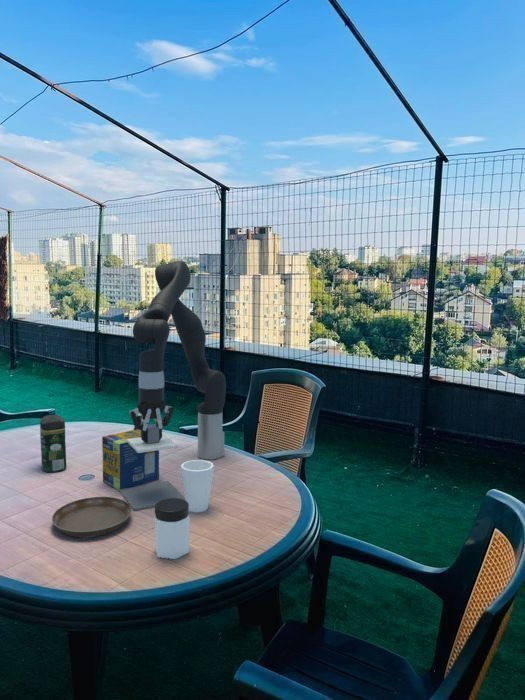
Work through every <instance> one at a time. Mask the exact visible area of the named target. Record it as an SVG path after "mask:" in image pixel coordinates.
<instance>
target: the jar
mask: <svg viewBox="0 0 525 700" xmlns="http://www.w3.org/2000/svg"><path fill="white" fill-rule="evenodd" d="M189 513H190V511H189V504H188V502H187V501H185V500H183V499H179V498H168V499H164V500H161V501H159V502H158V503H156V505H155V507H154V550H155V554H156V556H157V557H156V558H160V557H161V558H162V559H168V558H169V560H176V559H179V558H181V557H183V556H185V555H186V554H189V553H190V540H191V539H190V533H191V532H190V522H191V521H190V514H189ZM161 558H160V559H161Z"/></svg>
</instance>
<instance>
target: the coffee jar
mask: <svg viewBox="0 0 525 700" xmlns="http://www.w3.org/2000/svg"><path fill="white" fill-rule="evenodd" d="M39 423H40V424H39V427H40V429H39V431H40V432H39V436H40V452H41V453H40V454H41V468H42V470H43V471H44V472H46V473H58V472H61V471H64V470H65V469H66V468H67V454H66V453H67V452H66V451H67V445H66V421H65V419H64V418H63V417H62V416H60V415H58V414H49V415H44V416H43V417H42V418H41V419H40V421H39Z"/></svg>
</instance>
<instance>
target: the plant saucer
mask: <svg viewBox="0 0 525 700" xmlns="http://www.w3.org/2000/svg"><path fill="white" fill-rule="evenodd" d="M132 510H133V509H132V508H131V506H130V505H129V504H128V502H127V501H126V500H124V499H120V498H117V497H111V496H95V497H94V496H93V497H85V498H81V499H78V500H74V501H71V502H68V503H66V504H64V505H63V506H61V507H59V508H58V509H57V510H55V511H54V513H53V514H52V517H51V521H52V523H53V525H54V526H55V528H56V529H57V530H59V531H60V532H62V533H63V534H64V535H66V536H70V537H74V538H94V537H101V536H104V535H107V534H109V533H111V532H114V531H115V530H117V529H119V528H120V527H122V526H123V524H124V523H125V522H126V521H127V520H128V519H129V518H130V516H131V513H132Z"/></svg>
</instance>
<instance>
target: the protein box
mask: <svg viewBox="0 0 525 700" xmlns="http://www.w3.org/2000/svg"><path fill="white" fill-rule="evenodd" d="M139 437H141V430H140V429H139V430H138V429H135V430H133V429H131V430H126V431H122V432H117V433H114V434H108V435H104V436H102V437H101V439H102V440H101V441H102V451H101V452H102V482H103V483H104V484H106V485H108V486H110V487H111V488H114V489H116V490H117V491H119V492H120V490H119V489H125V488H131V487H136V486H142V485H145V484H146V483H151V482H153V480H154V481H156V479H157V480H159V479H160V450H156V451H149V452H142V453H137V452H136V451H135V449H134V448H133V447H132V446H131V445H130V444H129V443H128V442H127V439H131V438H139Z"/></svg>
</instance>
